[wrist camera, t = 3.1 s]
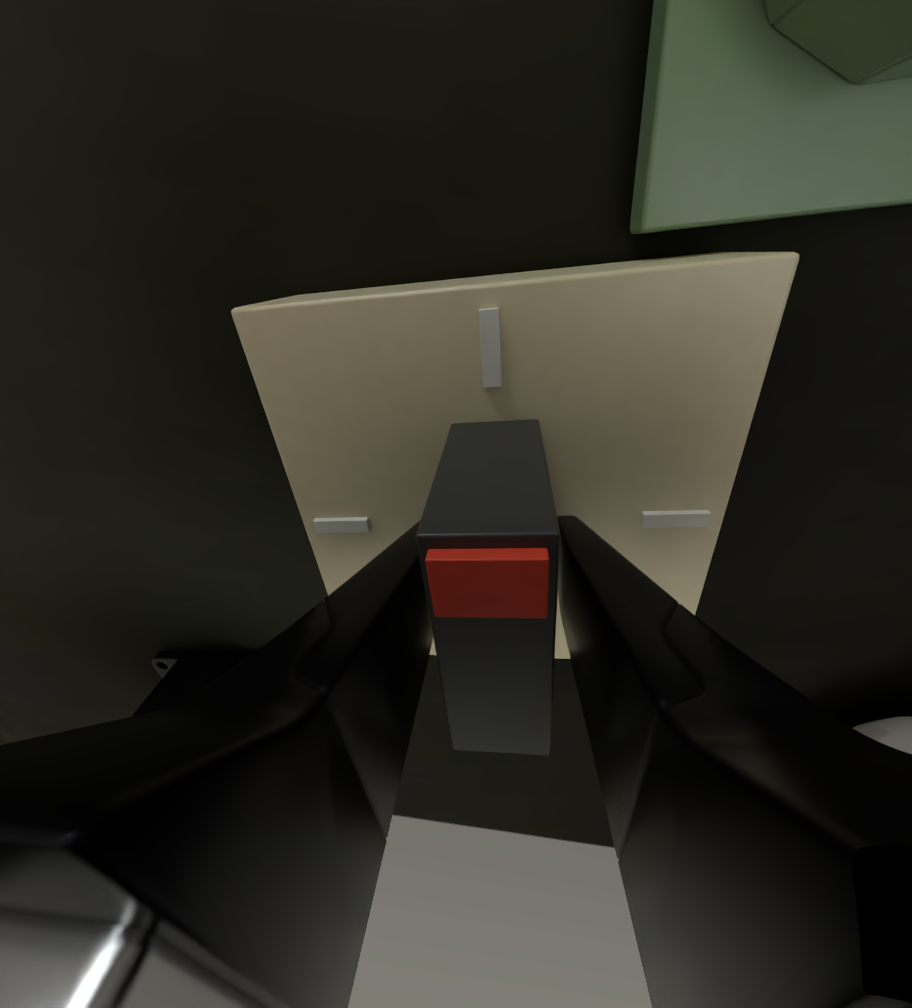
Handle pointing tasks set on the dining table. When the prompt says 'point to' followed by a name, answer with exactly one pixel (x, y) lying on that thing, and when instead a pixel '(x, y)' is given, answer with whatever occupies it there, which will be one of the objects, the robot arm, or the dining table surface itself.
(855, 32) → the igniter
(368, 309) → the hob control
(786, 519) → the dining table surface
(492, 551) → the hob knob
